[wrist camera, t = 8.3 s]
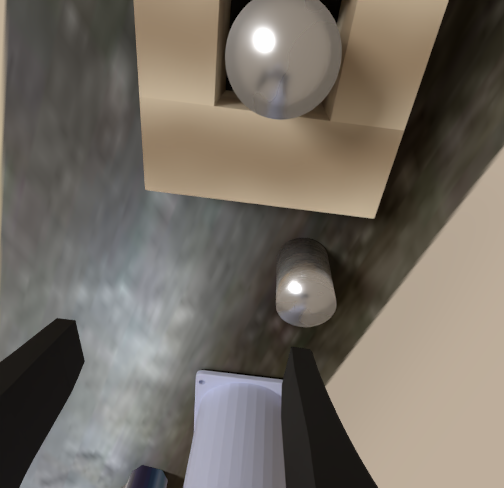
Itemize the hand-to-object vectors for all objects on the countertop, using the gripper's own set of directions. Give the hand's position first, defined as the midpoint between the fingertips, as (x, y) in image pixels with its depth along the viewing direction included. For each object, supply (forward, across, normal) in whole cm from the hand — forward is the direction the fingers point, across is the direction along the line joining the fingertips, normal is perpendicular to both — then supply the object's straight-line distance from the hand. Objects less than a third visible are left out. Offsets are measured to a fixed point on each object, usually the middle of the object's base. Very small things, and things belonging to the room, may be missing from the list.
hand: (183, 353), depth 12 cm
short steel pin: (+9, -5, +2) cm, 11 cm away
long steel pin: (+9, -2, -9) cm, 13 cm away
